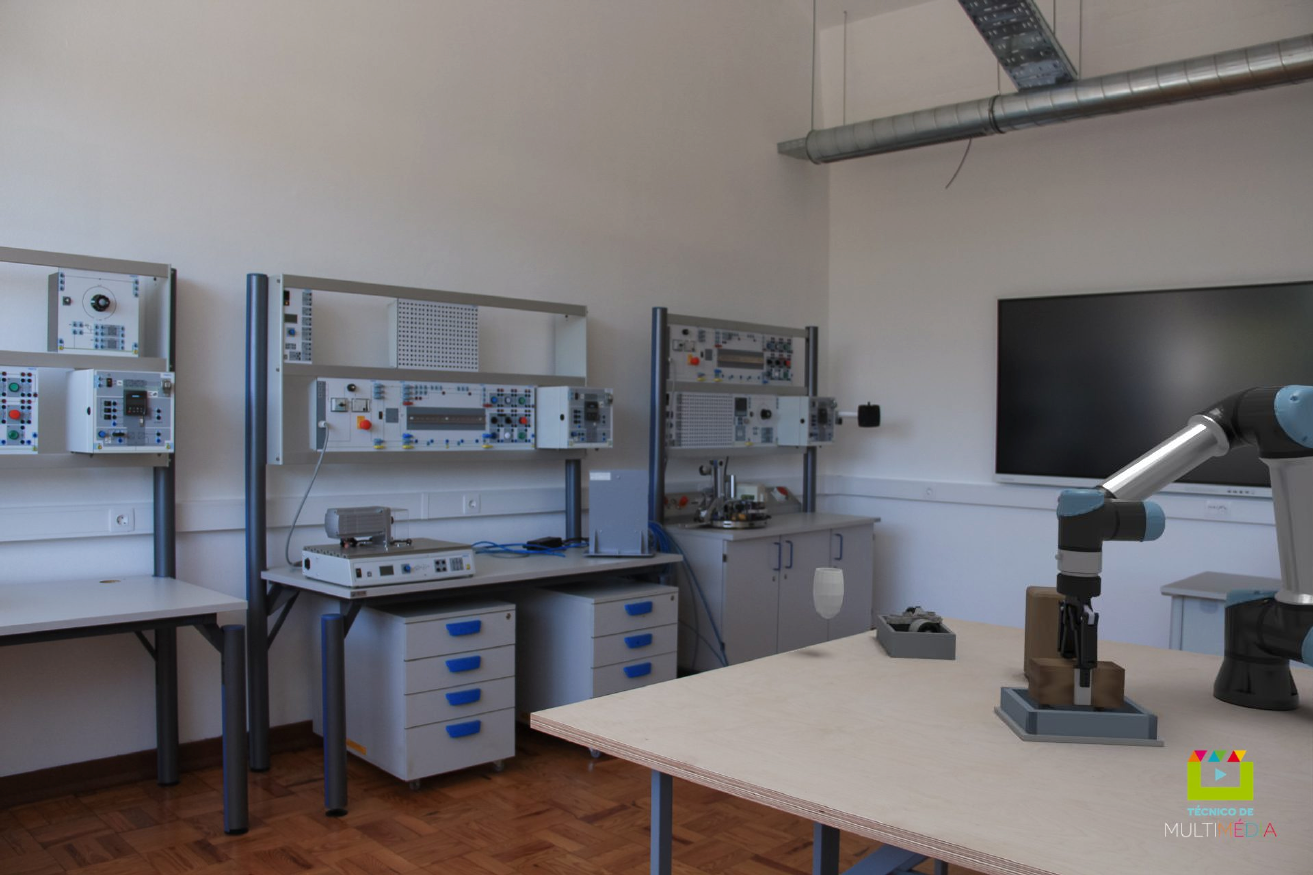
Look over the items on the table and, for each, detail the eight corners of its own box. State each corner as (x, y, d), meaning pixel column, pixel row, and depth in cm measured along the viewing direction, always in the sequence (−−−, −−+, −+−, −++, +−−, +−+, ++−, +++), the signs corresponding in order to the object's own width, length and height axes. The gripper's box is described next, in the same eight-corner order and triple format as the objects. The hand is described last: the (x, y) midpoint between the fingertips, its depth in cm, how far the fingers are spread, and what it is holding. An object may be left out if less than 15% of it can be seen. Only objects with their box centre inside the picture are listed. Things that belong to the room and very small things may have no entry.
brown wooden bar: (1038, 703, 178) (1039, 665, 178) (1028, 694, 184) (1029, 657, 184) (1123, 707, 177) (1125, 669, 177) (1110, 698, 183) (1111, 661, 183)
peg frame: (1121, 716, 189) (1122, 690, 189) (1164, 746, 171) (1164, 717, 171) (994, 711, 191) (994, 685, 191) (1023, 740, 173) (1023, 711, 173)
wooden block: (1080, 688, 210) (1082, 594, 210) (1030, 684, 212) (1033, 591, 212) (1070, 676, 220) (1072, 587, 220) (1022, 673, 222) (1025, 584, 222)
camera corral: (934, 640, 256) (935, 617, 256) (955, 659, 234) (956, 634, 234) (876, 637, 257) (876, 614, 257) (891, 657, 235) (891, 632, 235)
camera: (897, 652, 239) (898, 611, 239) (879, 644, 247) (880, 604, 247) (953, 650, 243) (955, 609, 243) (934, 642, 252) (935, 603, 252)
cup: (846, 656, 235) (849, 569, 235) (835, 661, 229) (837, 572, 228) (818, 651, 239) (820, 566, 238) (806, 657, 232) (808, 569, 232)
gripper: (1041, 565, 190) (1037, 684, 191) (1076, 580, 171) (1073, 713, 172) (1080, 566, 190) (1077, 686, 190) (1121, 581, 171) (1117, 714, 171)
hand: (1075, 698), depth 181 cm, fingers closed on brown wooden bar, 6 cm apart
